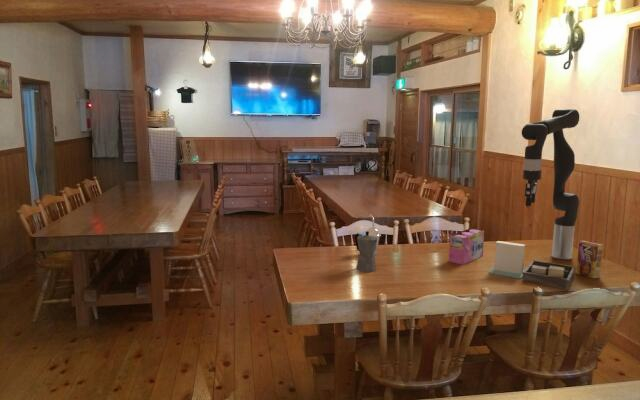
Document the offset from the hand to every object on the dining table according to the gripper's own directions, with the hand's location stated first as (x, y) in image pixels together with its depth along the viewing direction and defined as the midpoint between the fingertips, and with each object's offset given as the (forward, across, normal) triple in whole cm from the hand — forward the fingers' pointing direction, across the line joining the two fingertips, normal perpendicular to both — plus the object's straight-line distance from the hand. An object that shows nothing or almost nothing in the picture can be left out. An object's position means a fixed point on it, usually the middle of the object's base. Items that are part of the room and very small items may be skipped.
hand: (530, 204), depth 222 cm
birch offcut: (+31, +13, +14) cm, 37 cm away
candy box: (+32, -8, +25) cm, 41 cm away
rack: (+31, +8, +11) cm, 34 cm away
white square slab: (+30, +8, -6) cm, 32 cm away
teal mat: (+31, +8, -6) cm, 33 cm away
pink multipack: (+31, -3, -29) cm, 43 cm away
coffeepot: (+30, +42, -63) cm, 81 cm away
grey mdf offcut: (+31, +13, +7) cm, 35 cm away
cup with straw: (+30, +17, -72) cm, 80 cm away
